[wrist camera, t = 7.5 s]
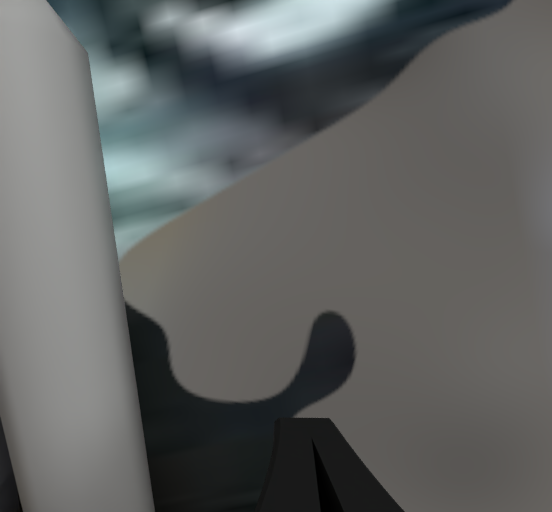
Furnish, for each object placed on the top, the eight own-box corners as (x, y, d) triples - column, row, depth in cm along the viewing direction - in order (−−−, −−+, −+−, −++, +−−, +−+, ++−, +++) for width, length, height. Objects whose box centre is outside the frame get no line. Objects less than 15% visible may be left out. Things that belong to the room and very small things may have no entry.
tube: (-161, -34, 11) (13, 617, 17) (-24, -75, 10) (116, 653, 15) (8, 27, 16) (98, 513, 22) (115, 6, 15) (182, 532, 20)
